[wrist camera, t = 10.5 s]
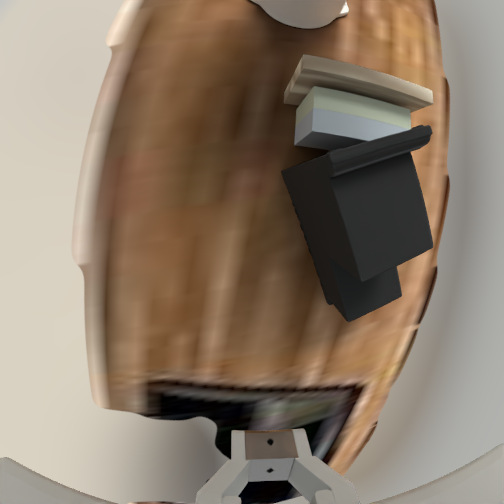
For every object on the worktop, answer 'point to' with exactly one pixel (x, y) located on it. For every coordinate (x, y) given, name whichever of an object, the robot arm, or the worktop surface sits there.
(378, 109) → the book
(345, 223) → the black stepped block
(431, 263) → the worktop surface
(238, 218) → the worktop surface
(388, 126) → the book
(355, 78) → the end board
